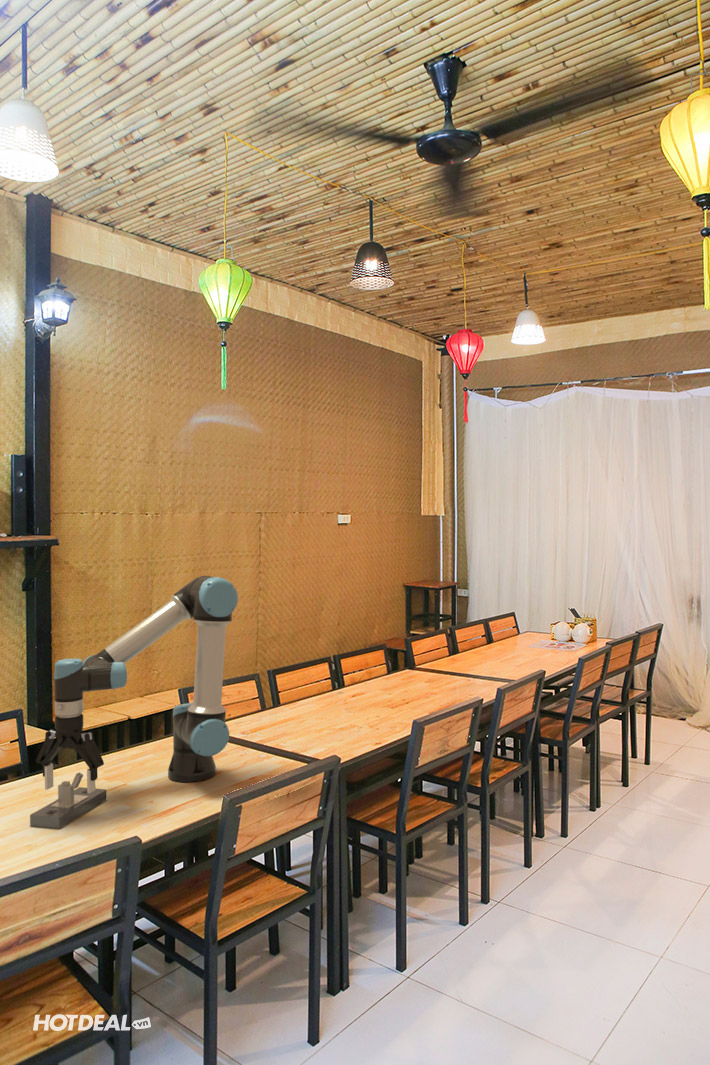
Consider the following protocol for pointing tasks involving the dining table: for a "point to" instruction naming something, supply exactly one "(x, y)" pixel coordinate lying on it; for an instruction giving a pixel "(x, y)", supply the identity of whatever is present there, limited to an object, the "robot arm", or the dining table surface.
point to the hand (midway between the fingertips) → (70, 790)
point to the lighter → (68, 789)
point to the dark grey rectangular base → (67, 809)
